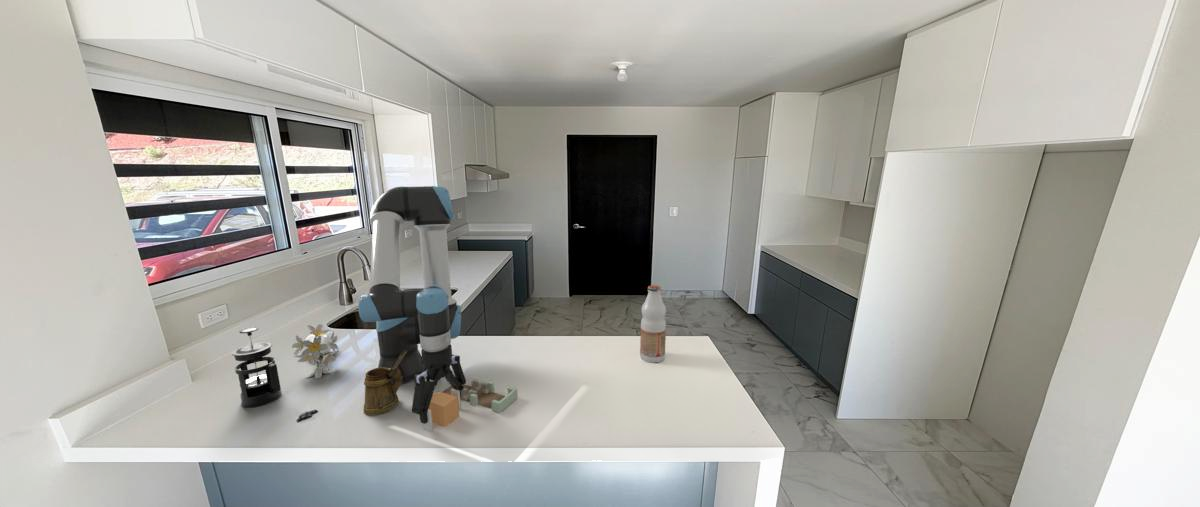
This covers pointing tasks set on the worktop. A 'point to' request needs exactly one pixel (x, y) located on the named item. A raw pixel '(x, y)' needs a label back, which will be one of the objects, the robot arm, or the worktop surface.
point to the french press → (258, 382)
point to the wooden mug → (382, 388)
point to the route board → (478, 393)
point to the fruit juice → (653, 326)
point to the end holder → (496, 405)
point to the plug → (443, 408)
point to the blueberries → (306, 415)
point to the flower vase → (317, 349)
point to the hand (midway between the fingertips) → (443, 420)
